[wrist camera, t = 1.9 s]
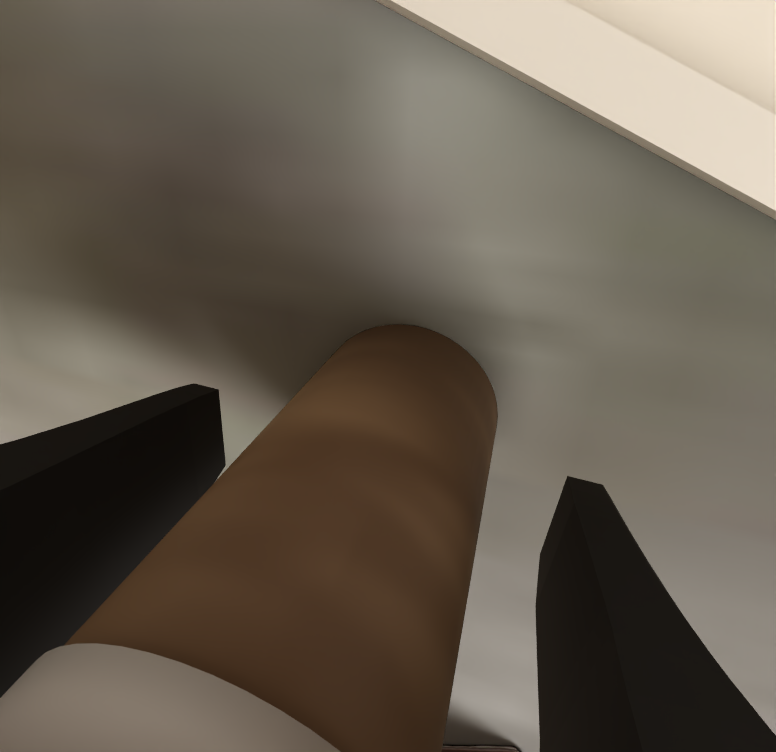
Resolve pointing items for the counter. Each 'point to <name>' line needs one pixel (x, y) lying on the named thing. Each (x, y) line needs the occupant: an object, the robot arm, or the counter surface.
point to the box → (479, 749)
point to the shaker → (296, 579)
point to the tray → (641, 73)
